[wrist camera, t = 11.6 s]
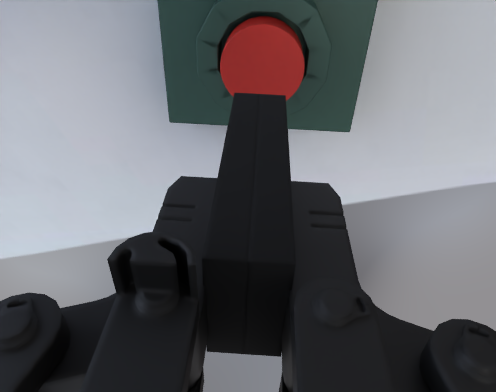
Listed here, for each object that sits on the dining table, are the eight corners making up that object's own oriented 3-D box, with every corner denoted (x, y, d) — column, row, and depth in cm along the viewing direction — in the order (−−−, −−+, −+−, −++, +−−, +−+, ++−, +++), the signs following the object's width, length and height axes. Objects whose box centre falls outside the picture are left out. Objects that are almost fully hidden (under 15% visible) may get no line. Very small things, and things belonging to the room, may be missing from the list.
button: (223, 94, 23) (220, 106, 22) (223, 13, 20) (219, 22, 19) (298, 98, 23) (299, 110, 22) (307, 17, 20) (309, 26, 19)
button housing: (175, 108, 28) (162, 135, 25) (161, -59, 22) (142, -52, 18) (345, 118, 27) (354, 146, 24) (378, -49, 21) (396, -41, 18)
